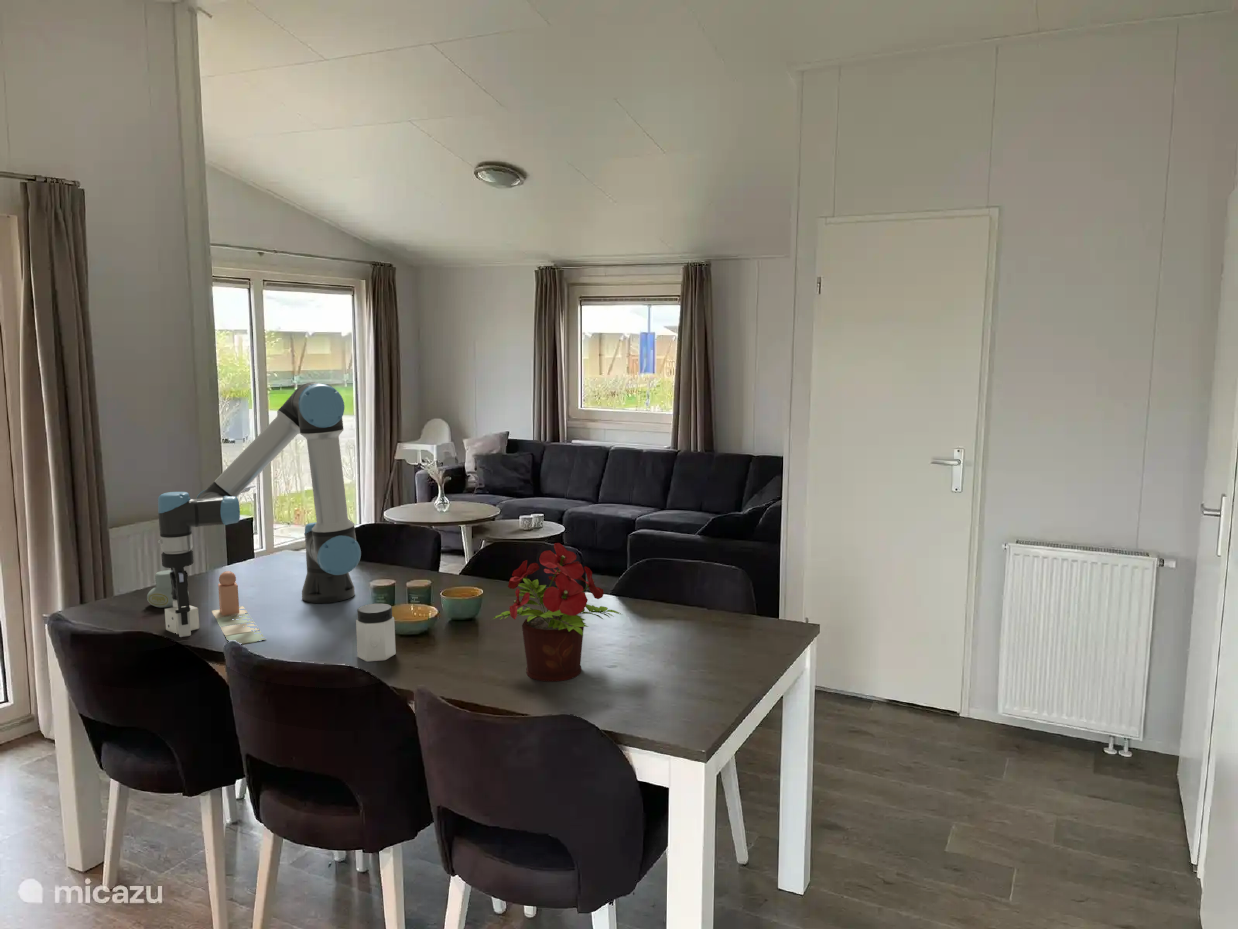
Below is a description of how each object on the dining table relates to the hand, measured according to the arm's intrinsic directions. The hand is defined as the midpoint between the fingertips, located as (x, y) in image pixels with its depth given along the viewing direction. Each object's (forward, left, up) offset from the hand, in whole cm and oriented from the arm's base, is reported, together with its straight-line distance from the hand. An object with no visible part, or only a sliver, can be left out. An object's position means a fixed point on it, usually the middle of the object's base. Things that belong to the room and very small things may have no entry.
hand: (182, 629), depth 238 cm
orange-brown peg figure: (-13, -10, 0) cm, 16 cm away
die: (0, 0, 0) cm, 0 cm away
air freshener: (+1, -28, 0) cm, 28 cm away
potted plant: (-72, +80, 0) cm, 108 cm away
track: (-13, +4, 0) cm, 14 cm away
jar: (-38, +48, 0) cm, 61 cm away
